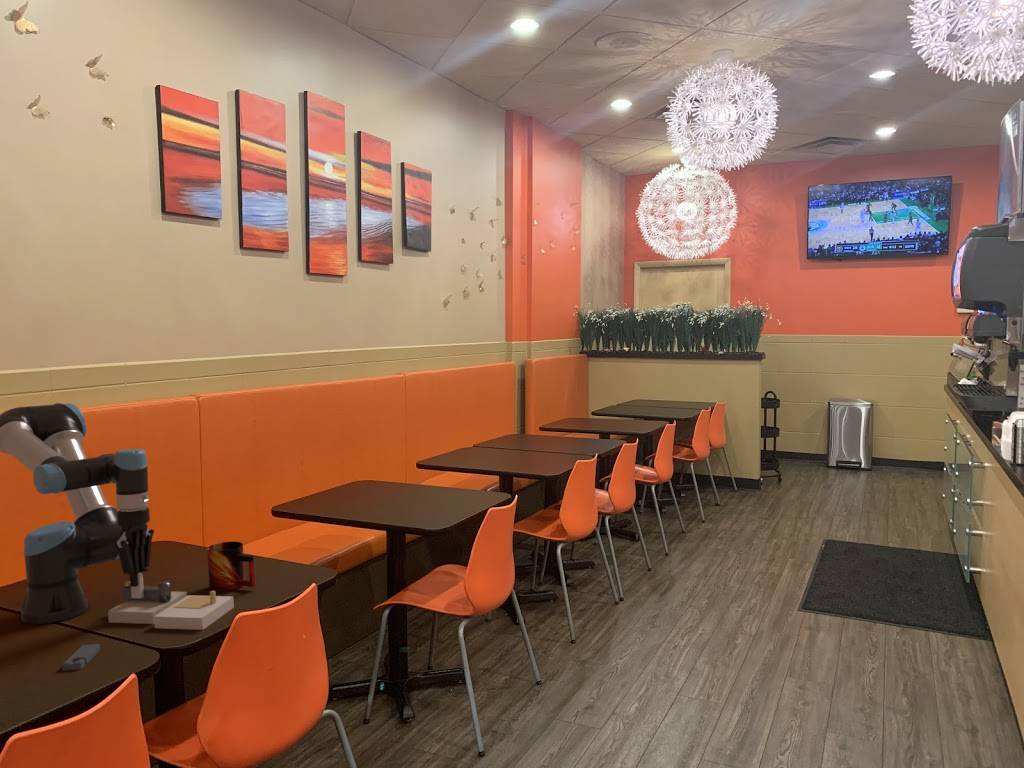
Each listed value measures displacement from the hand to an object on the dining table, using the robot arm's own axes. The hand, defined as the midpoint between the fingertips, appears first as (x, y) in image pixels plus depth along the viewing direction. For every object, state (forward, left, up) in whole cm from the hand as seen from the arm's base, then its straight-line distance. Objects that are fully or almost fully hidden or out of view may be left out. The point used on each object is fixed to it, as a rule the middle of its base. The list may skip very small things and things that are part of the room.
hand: (137, 597), depth 198 cm
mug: (+15, +22, -5) cm, 27 cm away
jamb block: (+2, +1, -5) cm, 5 cm away
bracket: (+5, -27, -5) cm, 28 cm away
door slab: (+17, -1, -5) cm, 18 cm away
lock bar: (+2, +2, -1) cm, 3 cm away
